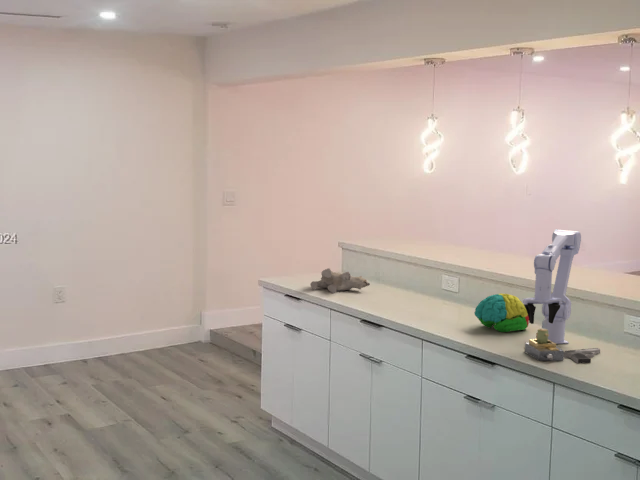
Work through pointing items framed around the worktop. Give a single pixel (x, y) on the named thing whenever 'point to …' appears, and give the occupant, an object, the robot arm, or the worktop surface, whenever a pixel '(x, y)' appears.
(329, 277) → the animal model
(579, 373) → the worktop surface
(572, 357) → the handgun
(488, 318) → the brain model
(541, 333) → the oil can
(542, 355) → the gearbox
